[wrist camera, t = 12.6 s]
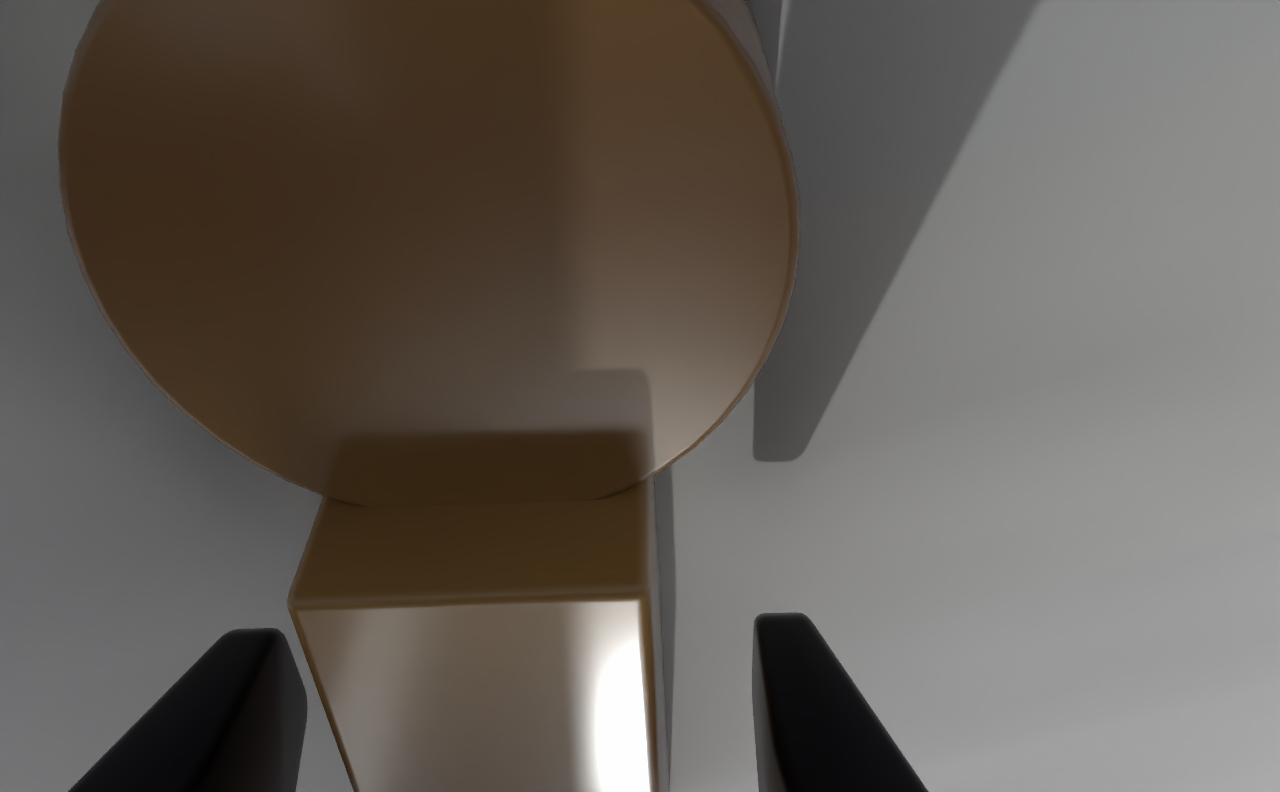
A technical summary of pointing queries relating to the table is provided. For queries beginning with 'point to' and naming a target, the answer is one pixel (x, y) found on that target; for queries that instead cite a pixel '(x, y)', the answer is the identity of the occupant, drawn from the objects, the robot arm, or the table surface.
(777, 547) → the table surface
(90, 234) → the wooden block
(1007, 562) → the table surface
